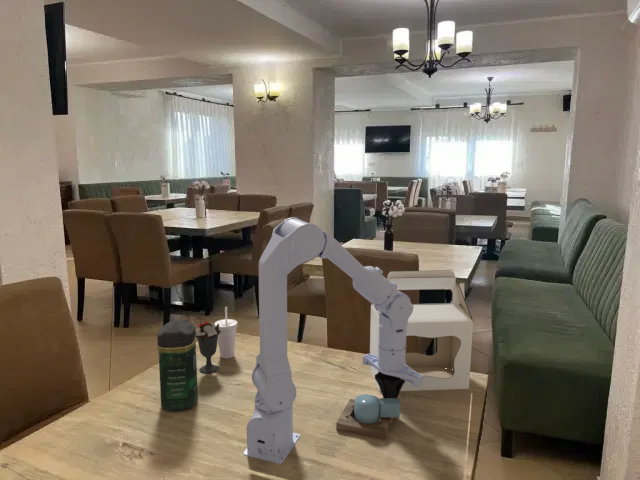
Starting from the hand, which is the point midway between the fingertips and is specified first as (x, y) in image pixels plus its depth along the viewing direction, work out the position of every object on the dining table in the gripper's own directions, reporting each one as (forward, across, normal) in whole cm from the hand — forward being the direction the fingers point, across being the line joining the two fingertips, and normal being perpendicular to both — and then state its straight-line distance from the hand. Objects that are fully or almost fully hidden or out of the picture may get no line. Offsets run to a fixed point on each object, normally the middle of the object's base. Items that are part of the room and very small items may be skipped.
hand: (390, 405), depth 99 cm
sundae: (+3, +46, +17) cm, 50 cm away
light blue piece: (+2, 0, +5) cm, 5 cm away
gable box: (+3, +6, -18) cm, 20 cm away
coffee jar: (+3, +36, +30) cm, 47 cm away
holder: (+3, +2, +6) cm, 6 cm away
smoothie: (+3, +50, +9) cm, 51 cm away
